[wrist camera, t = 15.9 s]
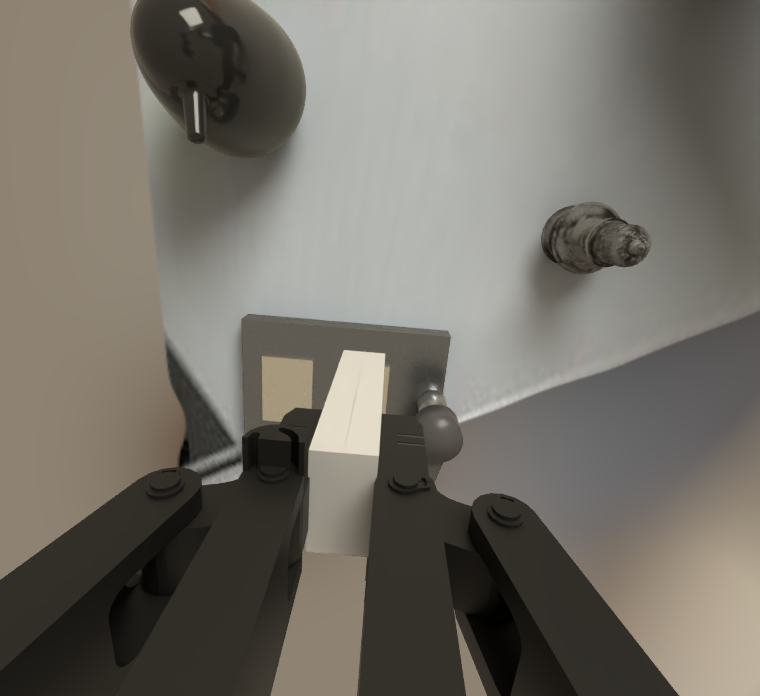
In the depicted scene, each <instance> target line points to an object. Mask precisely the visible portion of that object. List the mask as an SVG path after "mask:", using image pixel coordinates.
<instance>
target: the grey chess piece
mask: <svg viewBox="0 0 760 696" xmlns="http://www.w3.org/2000/svg"><path fill="white" fill-rule="evenodd" d="M542 246H543V250H544V252H545V253H546V255H547V257H548V258H550V259H551V260H552V261H553V262H556V263H558V264H559V265H560V266H562V267H563V268H564V269H565V270H568V271H570V272H572V273H577V274H587V273H593V272H595V271H598V270H600V269H602V268H603V267H610V266H614V265H616V266H619V267H629V266H634V265H636V264H638V263H639V262H641V261H642V260H643V259H644V258H645V257H646V256H647V254H648V252H649V250H650V247H651V239H650V235H649V234H648V232H647V231H646V230H645V229H644V228H642V227H640V226H638V225H629V224H628V223H627V222H626V221H624V220H622V219H620V217H619V216H618V214H617V213H616V212H615V211H614V210H613V209H612V208H611V207H609V206H607V205H605V204H603V203H597V202H589V203H582V204H580V205H577V206H570V207H565V208H563V209H561V210H559V211H557V212H556V213H555V214H553V215H552V216H551V217H550V219H549V220H548V221H547V223H546V225H545V227H544V229H543V233H542Z"/></svg>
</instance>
